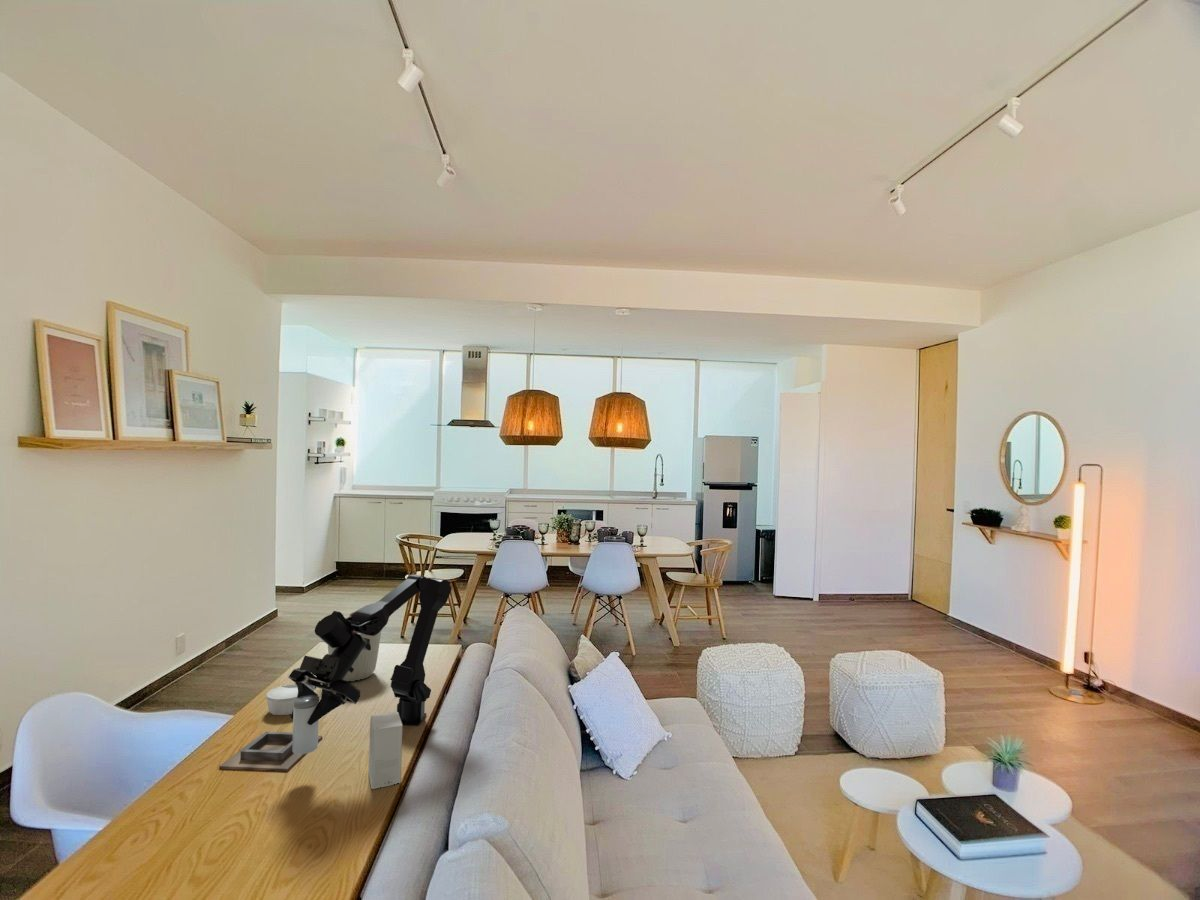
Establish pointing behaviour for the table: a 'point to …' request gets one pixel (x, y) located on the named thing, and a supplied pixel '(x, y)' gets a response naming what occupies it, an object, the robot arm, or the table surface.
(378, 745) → the small box
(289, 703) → the ramekin
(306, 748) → the grey cylinder
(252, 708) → the table surface
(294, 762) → the jig board
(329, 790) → the table surface
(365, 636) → the canister
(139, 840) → the table surface
